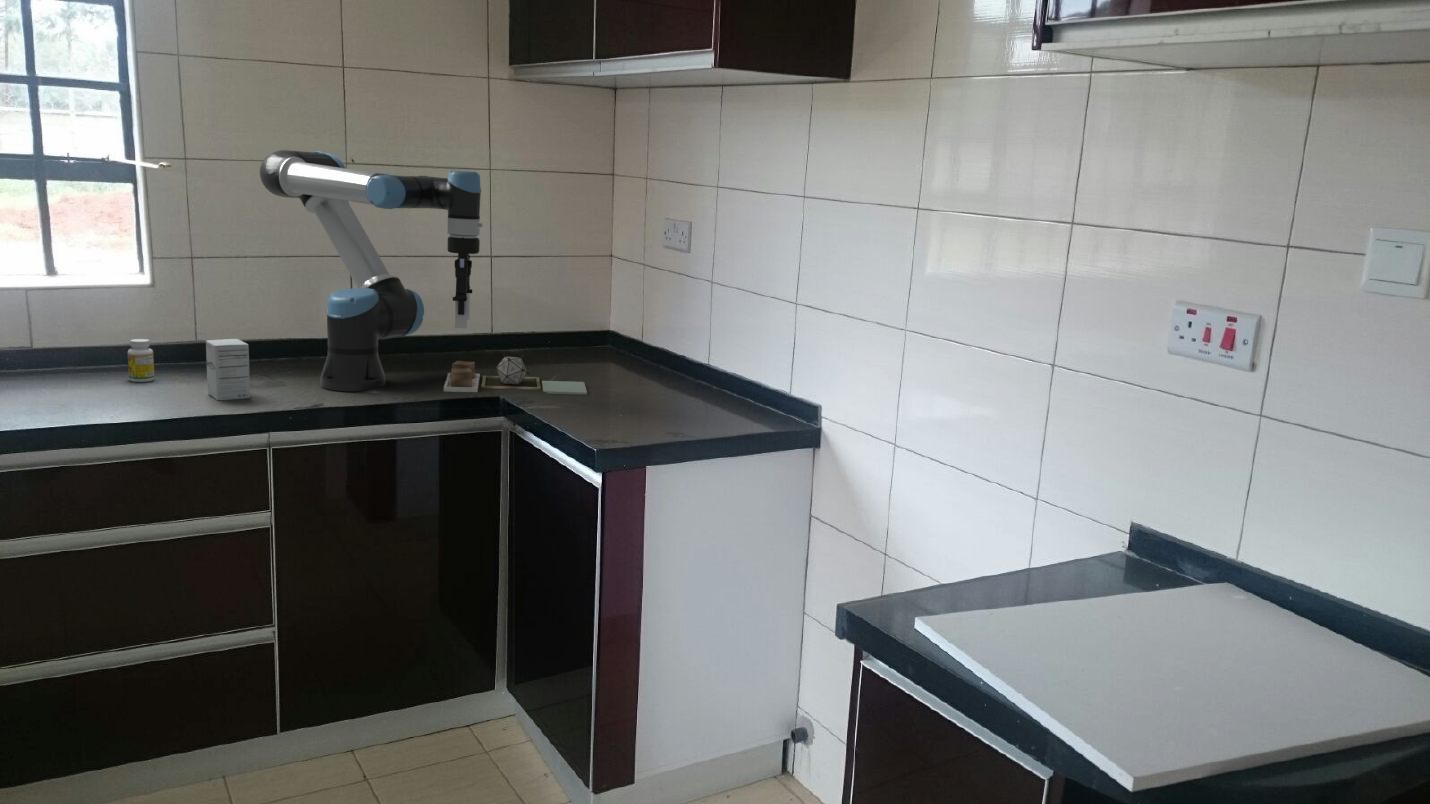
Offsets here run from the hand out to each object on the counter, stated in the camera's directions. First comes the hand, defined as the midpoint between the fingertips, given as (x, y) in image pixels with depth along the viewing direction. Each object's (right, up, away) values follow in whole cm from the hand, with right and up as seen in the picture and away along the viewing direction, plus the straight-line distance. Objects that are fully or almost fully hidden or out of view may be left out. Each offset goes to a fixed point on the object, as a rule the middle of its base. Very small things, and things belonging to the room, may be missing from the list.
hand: (462, 323), depth 260 cm
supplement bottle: (-74, -14, -8) cm, 76 cm away
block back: (-3, -13, +13) cm, 19 cm away
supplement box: (-49, -18, -18) cm, 55 cm away
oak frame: (+9, -15, +13) cm, 22 cm away
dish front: (-1, -16, +3) cm, 17 cm away
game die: (+9, -15, +13) cm, 22 cm away
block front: (-1, -16, +3) cm, 16 cm away
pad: (+23, -16, +14) cm, 31 cm away
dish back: (-3, -14, +13) cm, 19 cm away
